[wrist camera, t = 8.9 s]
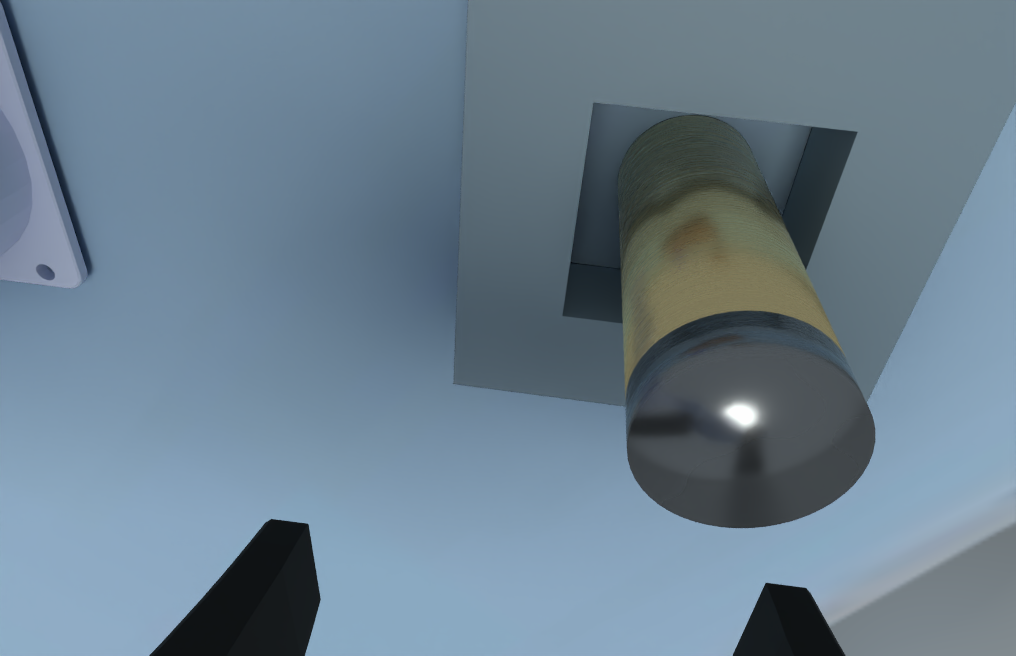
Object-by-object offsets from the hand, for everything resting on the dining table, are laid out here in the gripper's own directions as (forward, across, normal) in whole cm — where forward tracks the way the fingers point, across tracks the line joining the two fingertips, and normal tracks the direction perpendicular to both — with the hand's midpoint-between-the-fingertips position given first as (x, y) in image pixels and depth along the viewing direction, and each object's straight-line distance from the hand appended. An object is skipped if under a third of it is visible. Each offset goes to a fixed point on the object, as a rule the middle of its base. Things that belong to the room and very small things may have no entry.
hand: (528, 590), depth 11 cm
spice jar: (+9, -3, -3) cm, 10 cm away
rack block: (+9, -3, -3) cm, 10 cm away
